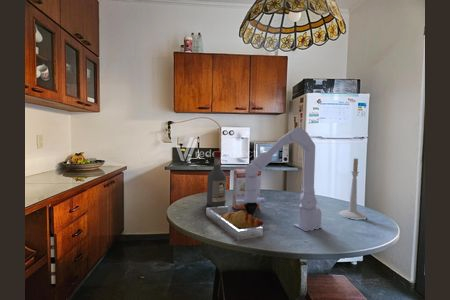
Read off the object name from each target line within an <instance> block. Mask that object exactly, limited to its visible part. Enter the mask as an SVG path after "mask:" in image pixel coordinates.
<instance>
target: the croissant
mask: <svg viewBox="0 0 450 300" xmlns="http://www.w3.org/2000/svg"><path fill="white" fill-rule="evenodd" d="M219 216H220V217H222V218H223V219H225V220H226V221H227V222H229V223H230V224H232V225H233V226H234V227H236V228H237V229H247V228H254V227H262V226H263V225H264V221H263V220H262V219H259V218H258V217H254V215H253V216H252V215H250V214H248V213H247V211H246V210H245V209H241V210H238V211H234V212H233V211H230V212H228V213H227V214H220V215H219Z"/></svg>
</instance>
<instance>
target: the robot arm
mask: <svg viewBox="0 0 450 300" xmlns="http://www.w3.org/2000/svg"><path fill="white" fill-rule="evenodd" d="M293 142H294V143H295V144H297V145H298V146H300V147H301V148H302V149H303V165H302V166H303V168H302V169H303V170H302V185H301V186H302V187H301V192H300V194H299V199H300V204H299V205H298V218H297V220H298V221H297V223H294V224H293V226H295V227H297V228H298V229H300V230H303V231H304V232H309V230H310V231H314V229H316V230H320V229H319V228H322V229H323V227H322V211H321V209H320V207H318V206H317V204H318V201H317V198H316V194H315V193H316V192H315V167H316V166H315V164H316V144H315V143H314V141H313V139H312V138H311V137H310V135H309V132H307V131H306V130H305V129H303V128H302V127H296V128H292V129H291V130H290V131H289V132H287V133H286V134H284V135H283V136H281V137H280V138H279V139H278V140H277V141H276V142H275V143H274V144H273V145H272V146H271V147H270V148H269V149H268V150H267V151H265V150H264V151H261V152H259V153H257V156H256V157H255V158H254V159H251V160H250V163H248V164H247V165H246V166H245V168H244V169H245V173H246V179H245V198H244V199H240V200H236V205H242V204H244V206H245V208H246V209H245V211H246V212H247V213H248V214H250V215H252V216H253V217H254V214H255V212H256V210H257V209H258V208H257V207H258V204H256V203H259V204H260V203H266V197H260V198H257V192H258V179H257V177H258V172H259V170H260V171H262V170H263V169H264V168H265V167H267V165H268V164H270V163H271V162H272V159H273V158H272V157H273V156H274V155H275V154H276V153H277V152H278V151H280V150H281V149H282V148H283V147H284V146H286V145H289V144H292V143H293Z"/></svg>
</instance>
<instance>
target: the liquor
mask: <svg viewBox="0 0 450 300" xmlns="http://www.w3.org/2000/svg"><path fill="white" fill-rule="evenodd" d="M213 156H214V160H213V161H214V162H213V168H212V170H211V171H210V172H209V173H208V174H207V178H206V179H207V183H206V184H207V185H206V204H207V206H210V207H220V206H226V201H227V199H226V194H227V193H226V192H227V175H226V173H225V172H224V171H223V169H222V167H221V157H222V151H218V150H216V151H214V153H213Z"/></svg>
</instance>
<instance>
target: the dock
mask: <svg viewBox="0 0 450 300" xmlns="http://www.w3.org/2000/svg"><path fill="white" fill-rule="evenodd" d="M205 209H206V210H205V211H206V214H205V215H206V217H208V218H209V219H211V220H212V221H213V222H215V223H216V224H217V225H218V226H219V227H221V228H222V229H223V230H224V231H225V232H227V233H228V234H230V235H231V237H233V238H234V239H235V240H237V241H243V240H249V239H254V238H255V239H256V238H262V237H263V234H264V233H263V231H264V229H263V228H264V227H263V226H259V227H254V228H248V227H247V228H237V227H234V226H233V225H232V224H230V223H229V222H227V221H226V220H225V219H223V218H222V217H220V216H221V215H223V214H228V213H229V206H227V205H224V206H220V207H212V206H210V207H206V208H205Z"/></svg>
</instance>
